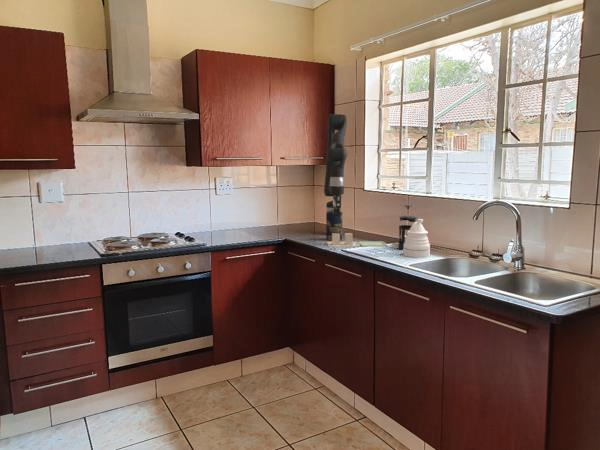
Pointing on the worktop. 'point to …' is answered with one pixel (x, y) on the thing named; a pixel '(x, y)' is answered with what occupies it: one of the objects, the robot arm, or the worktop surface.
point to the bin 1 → (343, 245)
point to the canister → (333, 224)
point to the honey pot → (417, 241)
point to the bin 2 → (373, 243)
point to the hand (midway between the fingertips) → (336, 215)
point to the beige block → (348, 238)
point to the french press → (404, 228)
